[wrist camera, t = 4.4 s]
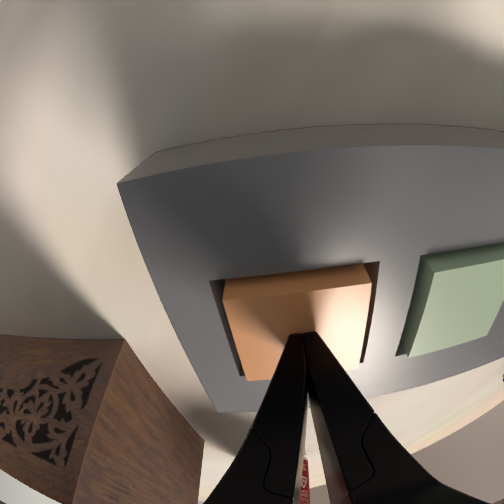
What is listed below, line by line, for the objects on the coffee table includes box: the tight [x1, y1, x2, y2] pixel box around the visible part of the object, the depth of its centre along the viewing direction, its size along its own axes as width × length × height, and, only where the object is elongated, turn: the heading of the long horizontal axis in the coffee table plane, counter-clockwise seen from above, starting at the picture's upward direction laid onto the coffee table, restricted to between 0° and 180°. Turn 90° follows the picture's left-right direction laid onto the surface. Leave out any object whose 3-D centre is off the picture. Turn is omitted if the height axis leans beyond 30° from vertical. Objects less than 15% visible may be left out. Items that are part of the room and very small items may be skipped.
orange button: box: [222, 263, 372, 381], centre depth 10 cm, size 4×4×3 cm
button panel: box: [117, 124, 504, 412], centre depth 10 cm, size 20×11×3 cm, turn 99°
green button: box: [400, 242, 504, 358], centre depth 9 cm, size 4×4×3 cm
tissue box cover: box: [0, 335, 204, 504], centre depth 16 cm, size 26×14×10 cm, turn 100°
